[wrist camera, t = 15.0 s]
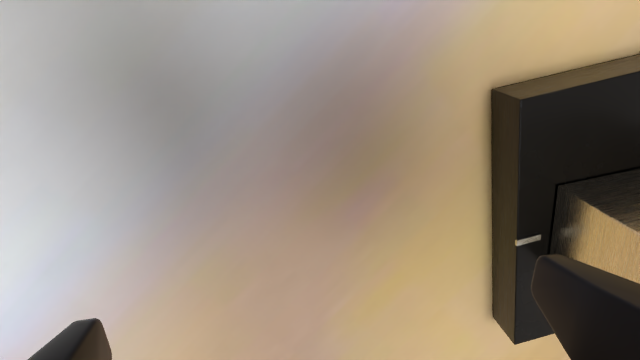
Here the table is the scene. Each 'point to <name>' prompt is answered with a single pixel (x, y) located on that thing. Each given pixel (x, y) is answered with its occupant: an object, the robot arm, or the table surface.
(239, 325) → the table surface
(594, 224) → the brushed aluminum block
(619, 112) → the dial plate
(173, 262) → the table surface
